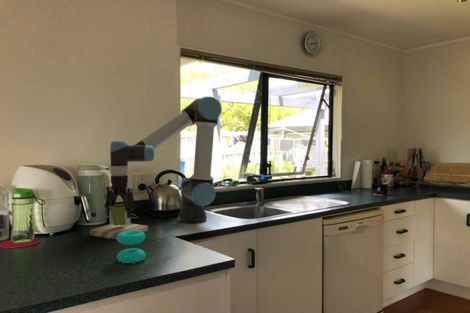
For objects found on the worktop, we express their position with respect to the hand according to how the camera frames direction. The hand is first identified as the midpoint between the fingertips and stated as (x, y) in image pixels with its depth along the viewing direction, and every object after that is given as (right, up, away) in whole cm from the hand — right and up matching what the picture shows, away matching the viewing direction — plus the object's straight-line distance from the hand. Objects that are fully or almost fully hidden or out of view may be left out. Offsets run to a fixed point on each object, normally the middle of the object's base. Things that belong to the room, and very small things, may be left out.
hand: (119, 223), depth 176 cm
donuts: (+16, -6, -39) cm, 43 cm away
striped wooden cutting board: (0, -5, 0) cm, 5 cm away
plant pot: (0, 0, 0) cm, 0 cm away
